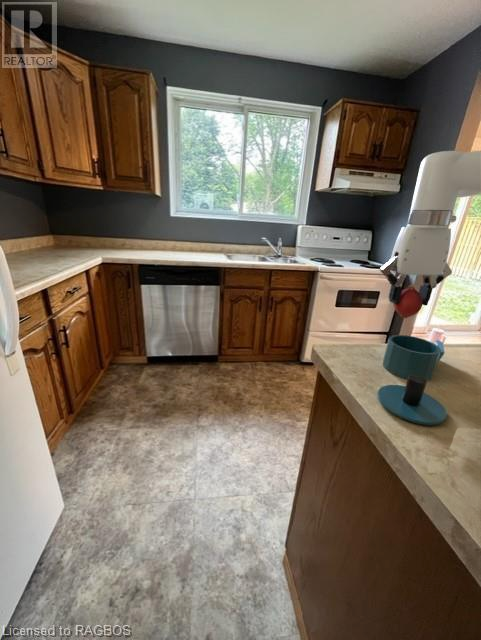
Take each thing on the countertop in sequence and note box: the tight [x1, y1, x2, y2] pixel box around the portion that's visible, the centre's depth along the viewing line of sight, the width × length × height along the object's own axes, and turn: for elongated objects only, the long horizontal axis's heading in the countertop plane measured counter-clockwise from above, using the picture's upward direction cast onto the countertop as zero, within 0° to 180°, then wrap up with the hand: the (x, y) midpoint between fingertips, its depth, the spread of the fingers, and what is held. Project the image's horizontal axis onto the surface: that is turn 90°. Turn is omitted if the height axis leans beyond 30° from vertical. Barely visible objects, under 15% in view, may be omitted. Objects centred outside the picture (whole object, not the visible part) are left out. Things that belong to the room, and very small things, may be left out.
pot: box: [382, 334, 441, 382], centre depth 70 cm, size 11×11×8 cm
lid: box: [376, 375, 447, 426], centre depth 56 cm, size 12×12×7 cm
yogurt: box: [434, 339, 445, 364], centre depth 74 cm, size 12×2×6 cm, turn 145°
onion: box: [392, 284, 423, 319], centre depth 63 cm, size 6×6×8 cm
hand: (407, 302), depth 63 cm, fingers closed on onion, 5 cm apart
